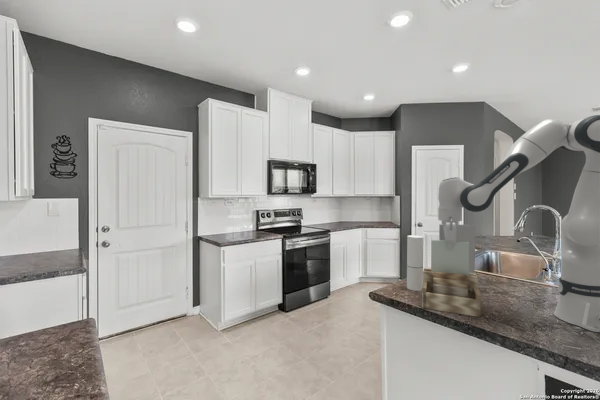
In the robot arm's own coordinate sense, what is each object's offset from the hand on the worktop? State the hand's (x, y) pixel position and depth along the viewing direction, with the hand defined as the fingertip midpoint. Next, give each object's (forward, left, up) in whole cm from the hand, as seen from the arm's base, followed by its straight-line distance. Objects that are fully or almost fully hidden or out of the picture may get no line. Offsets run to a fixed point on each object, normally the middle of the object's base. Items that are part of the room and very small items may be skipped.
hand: (449, 249), depth 118 cm
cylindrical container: (+14, -10, -22) cm, 28 cm away
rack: (0, +4, -22) cm, 22 cm away
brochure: (-4, -21, -22) cm, 31 cm away
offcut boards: (0, +7, -22) cm, 23 cm away
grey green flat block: (0, 0, -21) cm, 21 cm away
